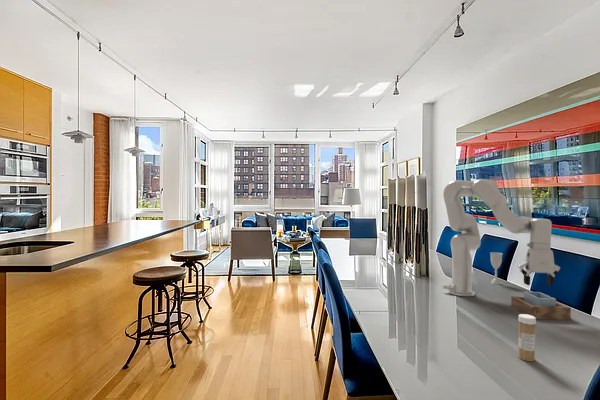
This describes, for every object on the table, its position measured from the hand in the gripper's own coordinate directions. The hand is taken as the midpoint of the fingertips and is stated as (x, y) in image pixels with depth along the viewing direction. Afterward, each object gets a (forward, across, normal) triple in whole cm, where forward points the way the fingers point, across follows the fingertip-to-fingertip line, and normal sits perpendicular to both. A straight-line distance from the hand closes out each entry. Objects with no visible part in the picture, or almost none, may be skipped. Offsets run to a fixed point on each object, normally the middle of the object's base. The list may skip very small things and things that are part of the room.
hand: (538, 284), depth 153 cm
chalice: (+14, +9, +53) cm, 56 cm away
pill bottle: (+12, -31, -47) cm, 58 cm away
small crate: (+12, 0, -1) cm, 12 cm away
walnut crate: (+12, +1, -1) cm, 12 cm away
